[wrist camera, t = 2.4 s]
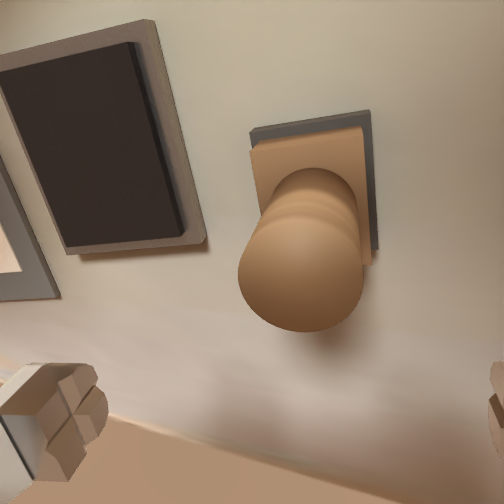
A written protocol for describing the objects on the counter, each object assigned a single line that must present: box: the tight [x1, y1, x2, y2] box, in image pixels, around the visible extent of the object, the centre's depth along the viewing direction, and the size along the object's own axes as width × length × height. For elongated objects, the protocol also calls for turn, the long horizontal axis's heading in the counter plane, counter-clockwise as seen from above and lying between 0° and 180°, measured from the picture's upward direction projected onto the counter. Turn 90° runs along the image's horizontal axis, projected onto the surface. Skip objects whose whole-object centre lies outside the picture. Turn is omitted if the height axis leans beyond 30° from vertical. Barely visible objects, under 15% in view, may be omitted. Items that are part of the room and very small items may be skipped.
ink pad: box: [0, 19, 207, 255], centre depth 19 cm, size 10×8×2 cm
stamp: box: [238, 110, 379, 332], centre depth 15 cm, size 6×5×9 cm
